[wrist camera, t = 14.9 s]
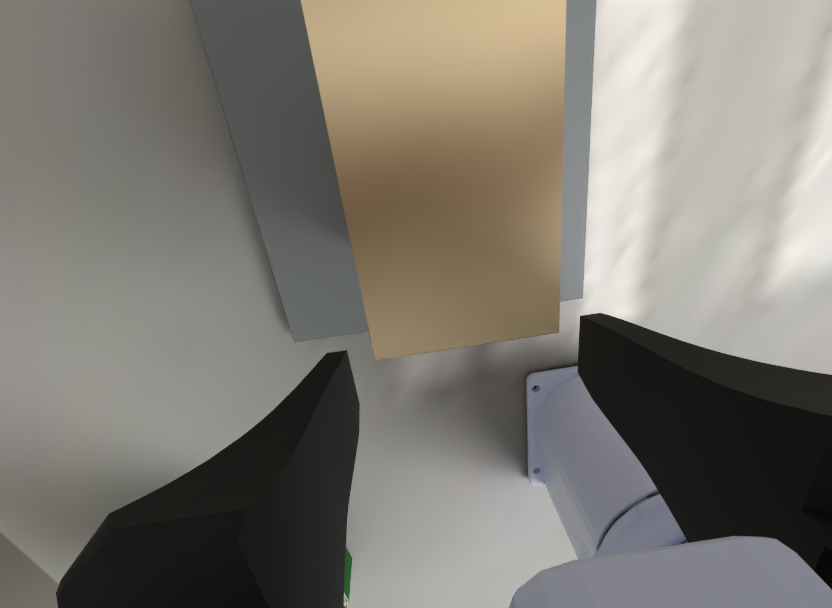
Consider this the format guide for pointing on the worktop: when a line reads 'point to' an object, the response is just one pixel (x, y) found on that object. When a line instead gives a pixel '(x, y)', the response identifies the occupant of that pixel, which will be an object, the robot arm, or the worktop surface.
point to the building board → (314, 165)
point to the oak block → (447, 163)
